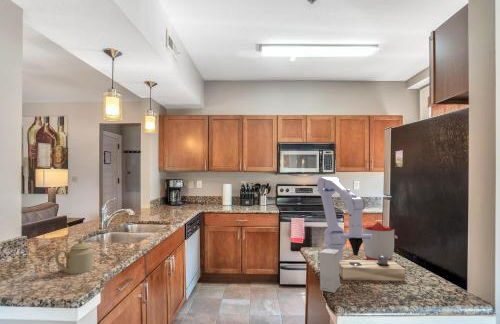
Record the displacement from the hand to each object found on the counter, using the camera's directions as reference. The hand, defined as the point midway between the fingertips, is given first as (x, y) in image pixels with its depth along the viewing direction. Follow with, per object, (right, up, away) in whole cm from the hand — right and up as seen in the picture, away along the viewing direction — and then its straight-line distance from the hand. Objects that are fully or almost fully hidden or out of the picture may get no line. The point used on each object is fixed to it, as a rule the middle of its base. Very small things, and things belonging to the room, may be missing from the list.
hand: (355, 255), depth 141 cm
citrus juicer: (+21, -10, +23) cm, 33 cm away
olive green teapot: (-126, -9, +3) cm, 126 cm away
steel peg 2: (+12, -6, 0) cm, 13 cm away
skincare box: (-15, -9, -16) cm, 24 cm away
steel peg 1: (0, -9, 0) cm, 9 cm away
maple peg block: (+6, -9, 0) cm, 11 cm away
